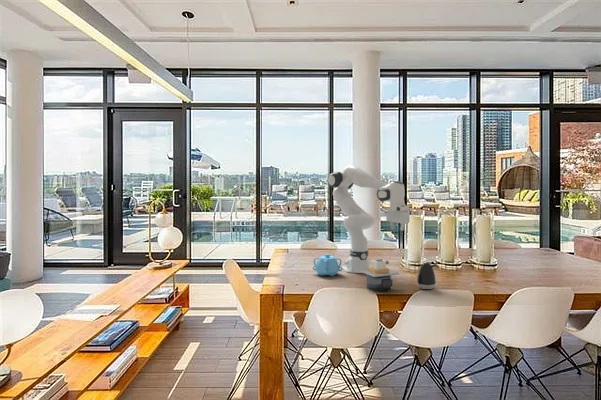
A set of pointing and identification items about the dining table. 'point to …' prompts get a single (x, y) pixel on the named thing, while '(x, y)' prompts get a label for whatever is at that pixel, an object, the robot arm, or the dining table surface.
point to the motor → (379, 280)
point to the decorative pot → (327, 265)
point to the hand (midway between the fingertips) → (397, 229)
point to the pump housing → (379, 264)
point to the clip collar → (379, 270)
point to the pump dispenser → (426, 276)
